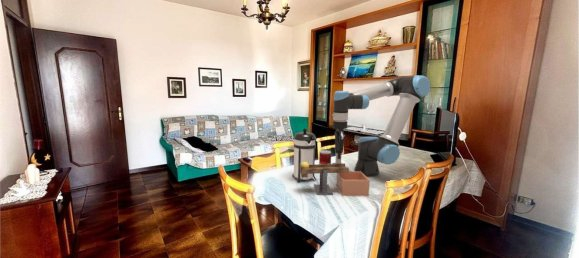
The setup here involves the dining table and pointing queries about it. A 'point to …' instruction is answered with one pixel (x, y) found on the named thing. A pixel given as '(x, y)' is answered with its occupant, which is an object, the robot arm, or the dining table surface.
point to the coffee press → (304, 152)
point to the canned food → (325, 157)
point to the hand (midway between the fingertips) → (338, 164)
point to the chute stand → (323, 185)
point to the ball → (305, 165)
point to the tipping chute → (320, 167)
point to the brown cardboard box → (352, 183)
